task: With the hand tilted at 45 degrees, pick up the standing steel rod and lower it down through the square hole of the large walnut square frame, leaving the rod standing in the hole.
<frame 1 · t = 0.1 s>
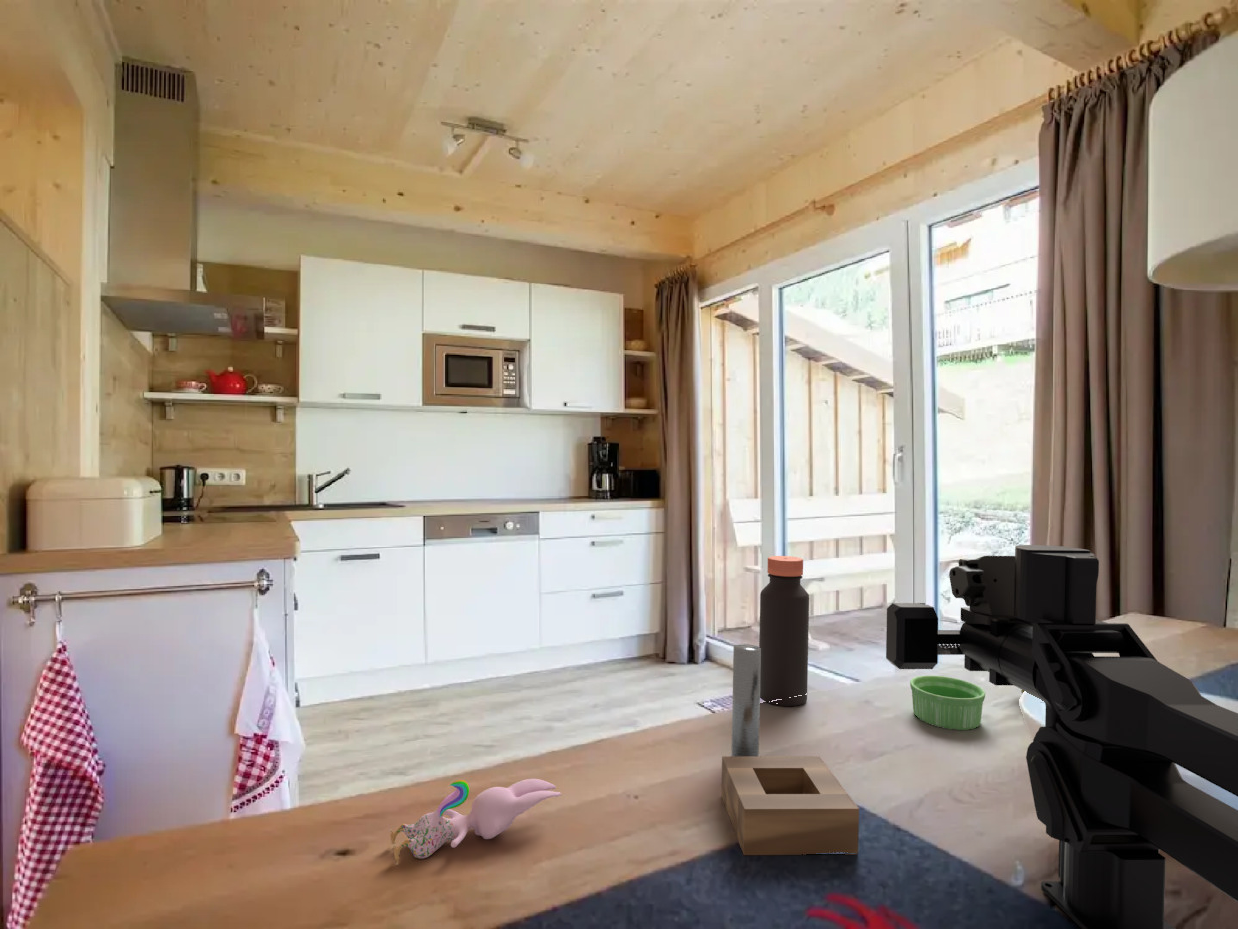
hand: (938, 616, 76), 17 cm above the table, tool horizontal, fingers open, 9 cm apart
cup: (1035, 700, 96), on the table
rabbit figure: (478, 840, 60), on the table
steel rod: (744, 763, 75), on the table
ramekin: (946, 720, 89), on the table
bottle: (782, 700, 95), on the table
walnut square frame: (784, 823, 63), on the table
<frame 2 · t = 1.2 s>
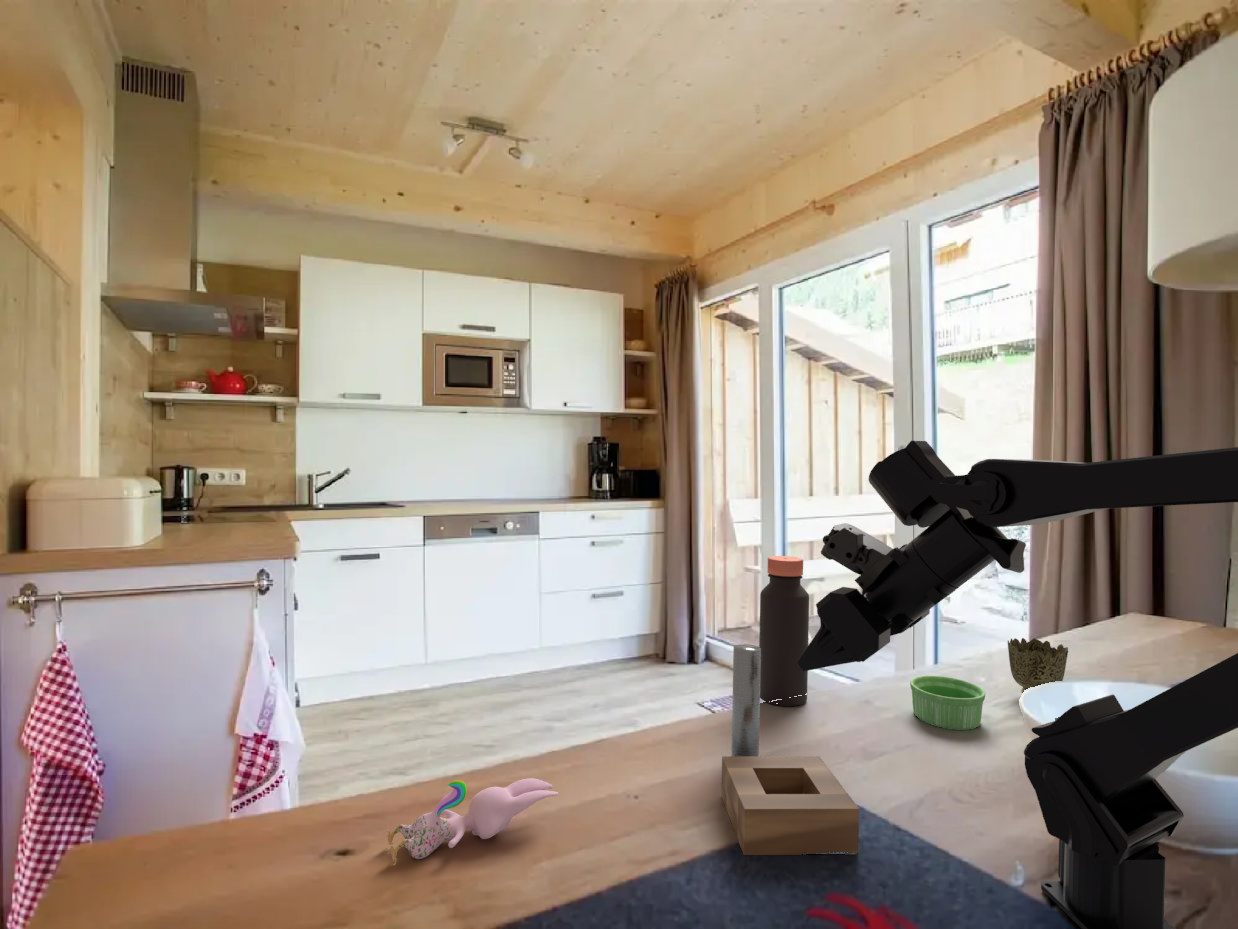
hand: (818, 656, 70), 14 cm above the table, tool tilted 45°, fingers open, 9 cm apart
nothing on the table moved.
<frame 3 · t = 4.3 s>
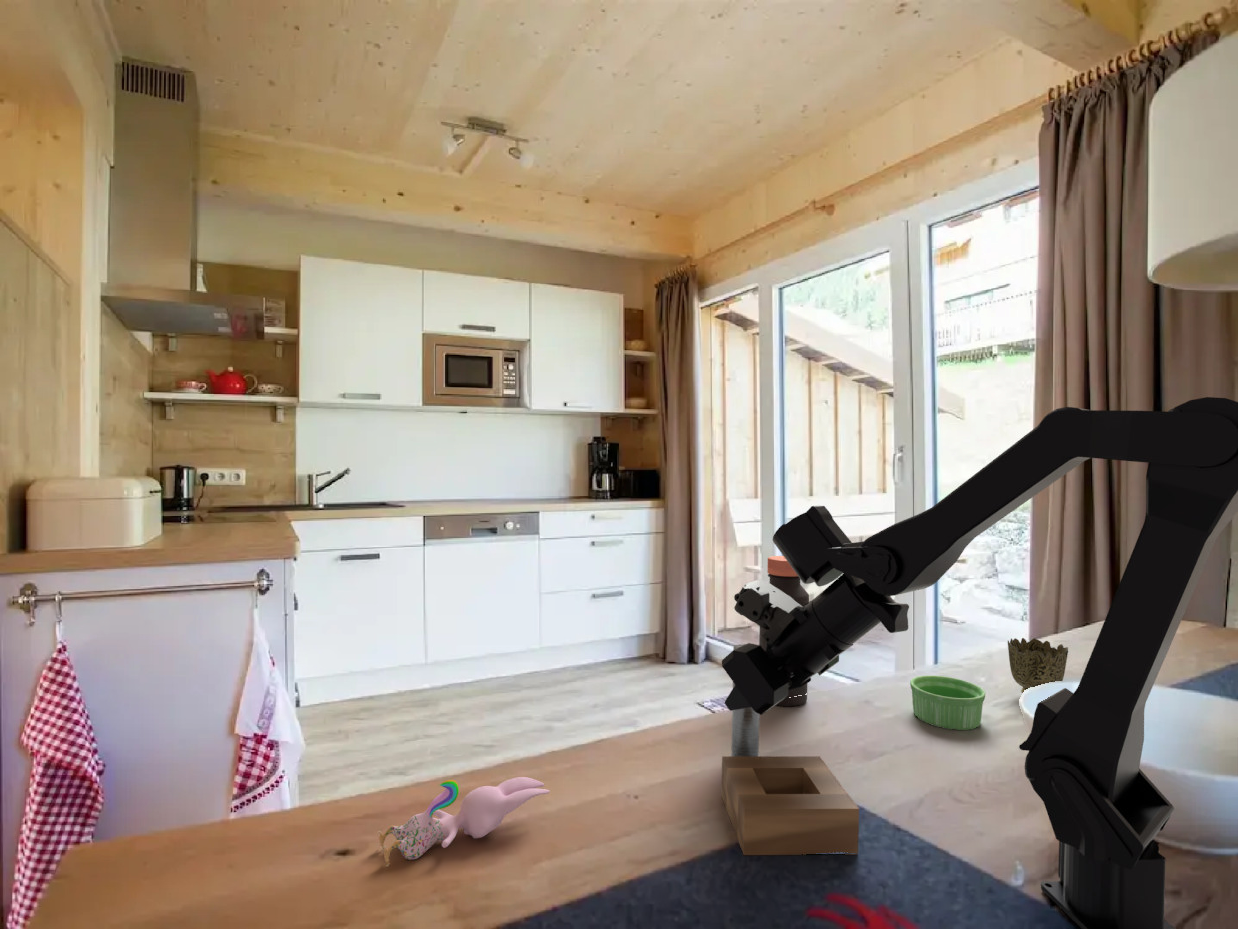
hand: (734, 702, 75), 7 cm above the table, tool tilted 45°, fingers closed on steel rod, 3 cm apart
steel rod: (744, 763, 75), on the table, touching gripper
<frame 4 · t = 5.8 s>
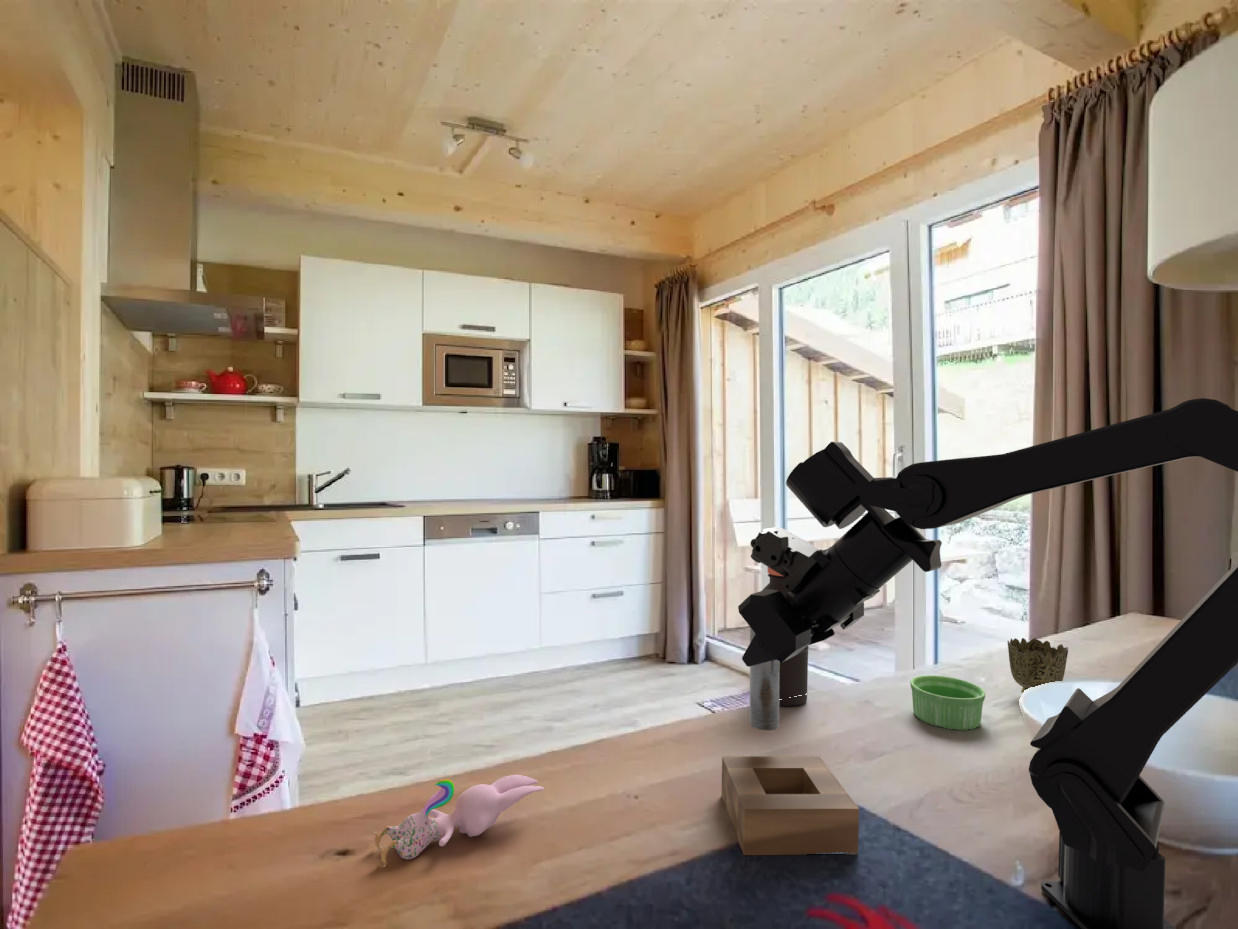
hand: (752, 658, 70), 13 cm above the table, tool tilted 45°, fingers closed on steel rod, 3 cm apart
steel rod: (764, 724, 70), point 6 cm above the table, touching gripper
when the fingers open (9 cm above the table, at t = 7.7 s): steel rod drops 2 cm, resting in walnut square frame.
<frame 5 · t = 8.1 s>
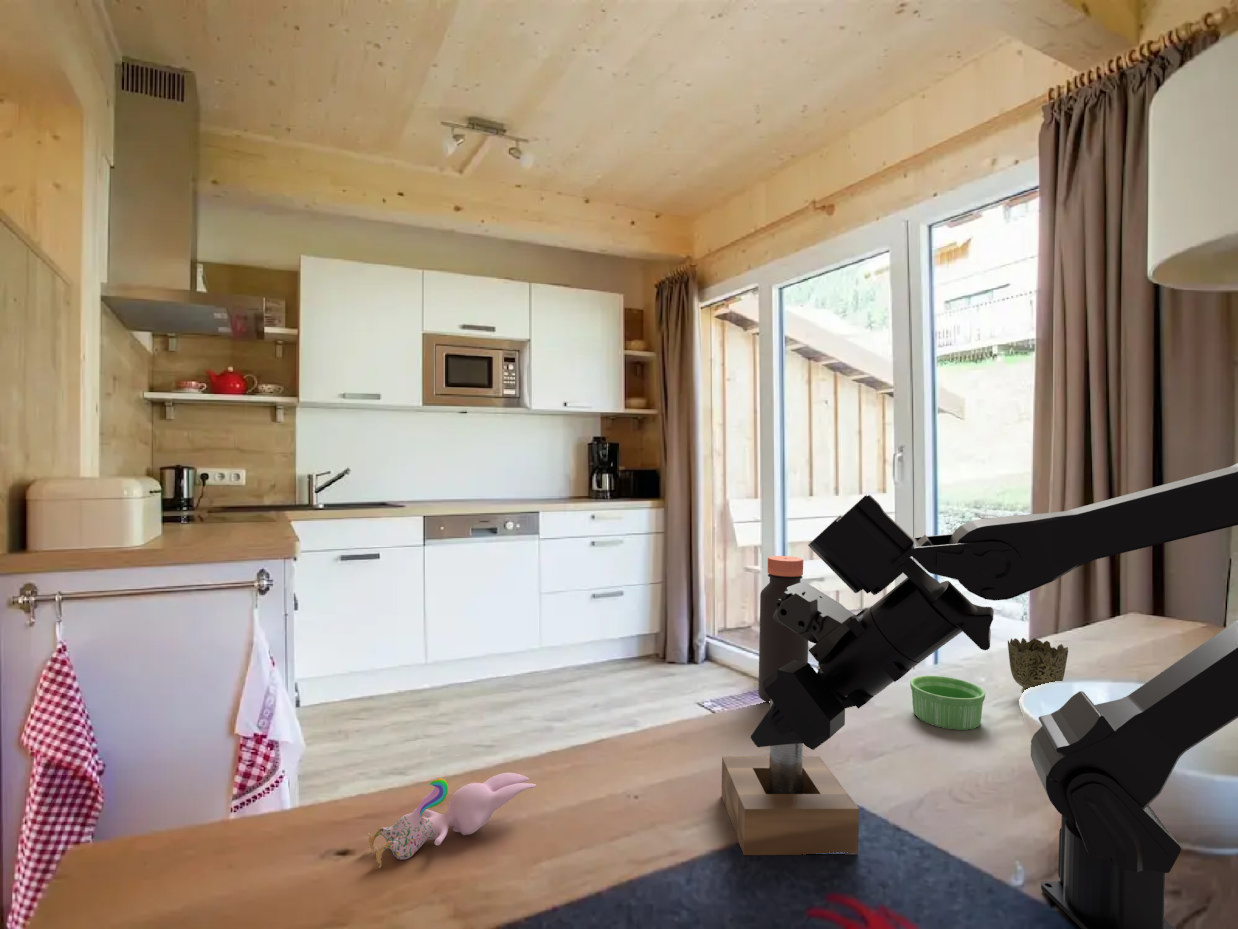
hand: (772, 728, 63), 9 cm above the table, tool tilted 45°, fingers open, 7 cm apart
steel rod: (784, 823, 63), resting in walnut square frame
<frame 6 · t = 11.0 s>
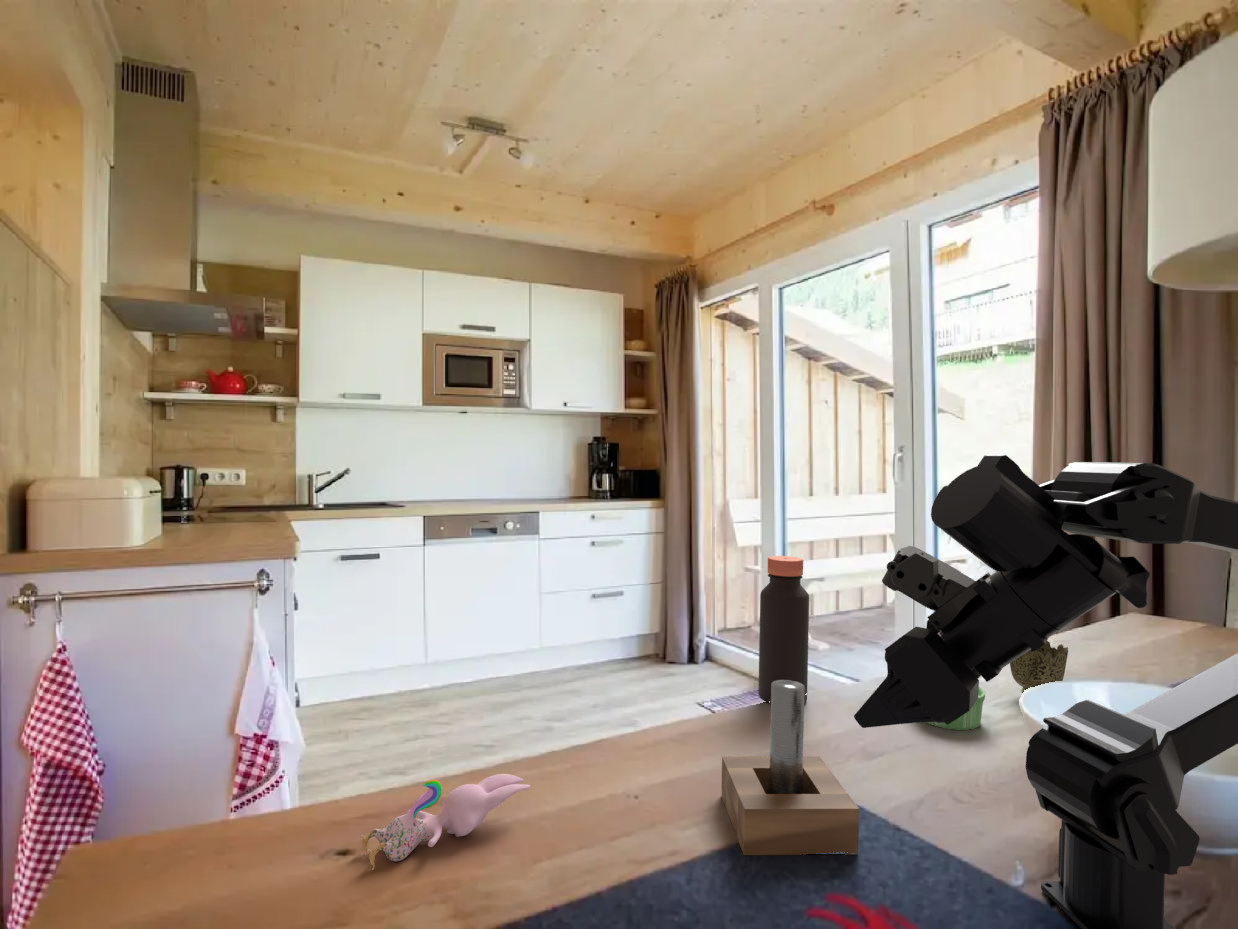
hand: (875, 706, 57), 13 cm above the table, tool tilted 45°, fingers open, 9 cm apart
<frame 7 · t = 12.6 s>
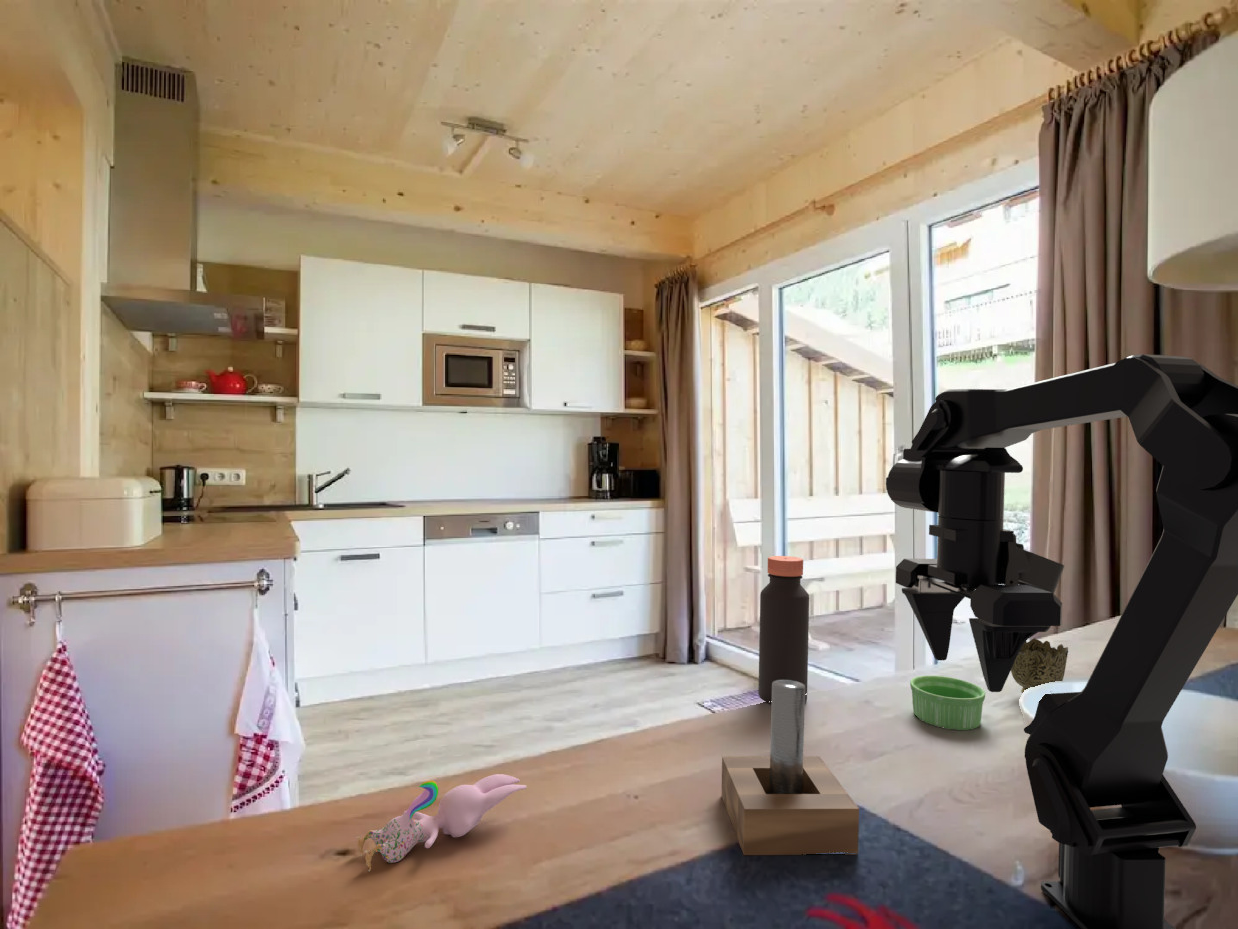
hand: (965, 674, 66), 13 cm above the table, tool pointing down, fingers open, 9 cm apart
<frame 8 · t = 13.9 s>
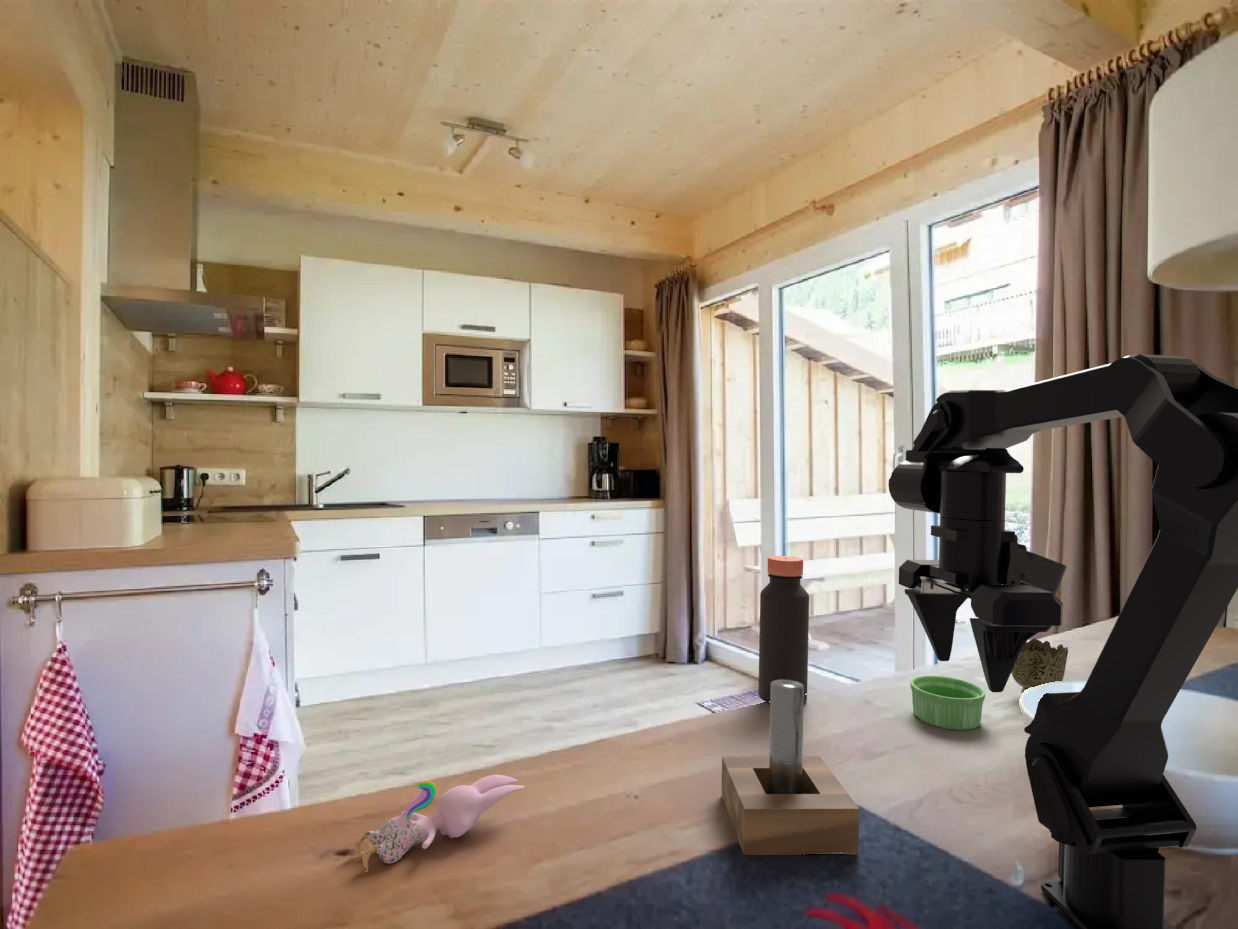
hand: (968, 675, 66), 13 cm above the table, tool pointing down, fingers open, 9 cm apart
at the end: steel rod 0.0 cm from the walnut square frame (horizontally); steel rod resting in walnut square frame; steel rod tilted 0° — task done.
